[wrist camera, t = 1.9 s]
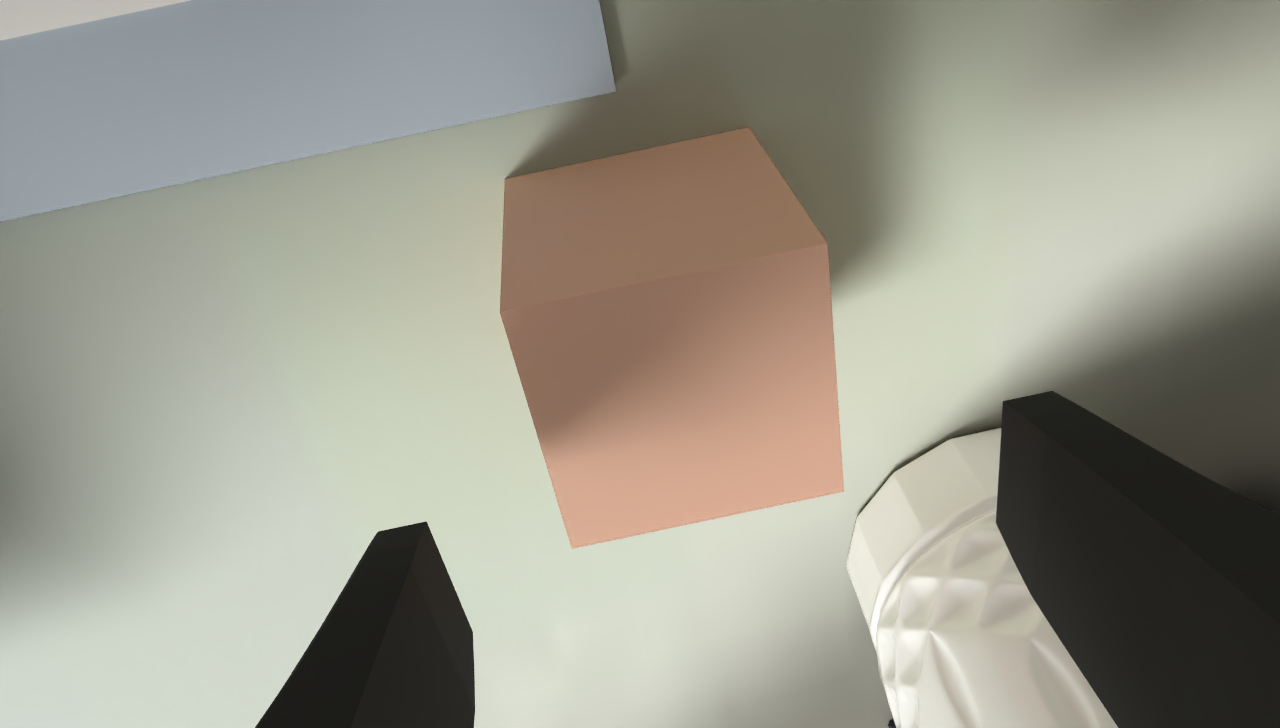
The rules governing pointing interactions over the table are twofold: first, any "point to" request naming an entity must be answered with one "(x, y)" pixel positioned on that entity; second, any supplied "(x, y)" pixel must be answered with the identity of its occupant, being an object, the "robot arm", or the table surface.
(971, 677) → the white cup
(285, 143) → the blueprint board
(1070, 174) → the table surface
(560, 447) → the top block
